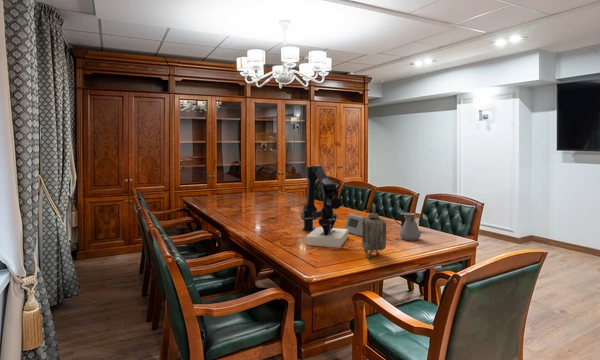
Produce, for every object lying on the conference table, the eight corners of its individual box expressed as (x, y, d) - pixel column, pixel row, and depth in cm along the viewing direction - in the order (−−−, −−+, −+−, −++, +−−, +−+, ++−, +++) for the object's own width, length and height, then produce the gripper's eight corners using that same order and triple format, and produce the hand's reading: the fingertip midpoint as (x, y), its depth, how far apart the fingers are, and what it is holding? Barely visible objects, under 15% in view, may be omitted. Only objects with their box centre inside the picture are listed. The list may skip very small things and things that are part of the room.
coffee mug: (416, 229, 235) (416, 213, 234) (412, 231, 228) (412, 215, 227) (397, 227, 241) (398, 211, 240) (393, 229, 234) (393, 213, 233)
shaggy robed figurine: (361, 251, 185) (362, 200, 182) (380, 251, 184) (381, 201, 182) (366, 260, 170) (367, 205, 168) (386, 260, 170) (387, 205, 168)
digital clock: (342, 231, 229) (343, 214, 228) (355, 230, 232) (356, 213, 231) (355, 237, 214) (356, 218, 213) (369, 236, 217) (370, 217, 216)
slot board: (317, 234, 219) (317, 227, 219) (348, 237, 214) (348, 229, 214) (305, 244, 197) (305, 236, 196) (339, 247, 191) (339, 238, 191)
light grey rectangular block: (325, 238, 208) (325, 228, 207) (332, 239, 207) (332, 228, 206) (323, 240, 204) (323, 229, 203) (330, 240, 203) (330, 230, 202)
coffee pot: (398, 236, 216) (399, 210, 215) (419, 237, 214) (420, 211, 213) (400, 245, 196) (400, 217, 194) (423, 247, 193) (424, 218, 192)
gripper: (318, 202, 215) (317, 229, 216) (309, 207, 197) (309, 237, 198) (337, 203, 212) (337, 231, 213) (329, 209, 194) (329, 238, 195)
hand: (327, 234), depth 205 cm, fingers open, 9 cm apart
